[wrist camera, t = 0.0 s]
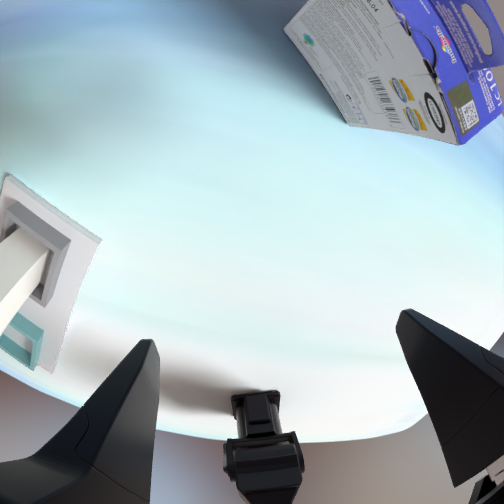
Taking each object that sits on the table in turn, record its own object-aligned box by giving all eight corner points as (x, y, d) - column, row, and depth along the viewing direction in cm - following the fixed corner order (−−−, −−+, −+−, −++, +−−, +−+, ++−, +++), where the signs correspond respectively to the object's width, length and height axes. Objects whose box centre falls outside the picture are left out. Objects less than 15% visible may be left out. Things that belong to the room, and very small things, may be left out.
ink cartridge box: (395, 101, 19) (540, 121, 6) (349, 130, 20) (494, 169, 7) (334, 5, 15) (449, -67, 2) (280, 29, 16) (368, -71, 3)
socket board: (11, 174, 18) (-8, 183, 15) (102, 239, 22) (89, 255, 19) (-9, 324, 25) (-18, 337, 22) (54, 368, 29) (47, 384, 27)
